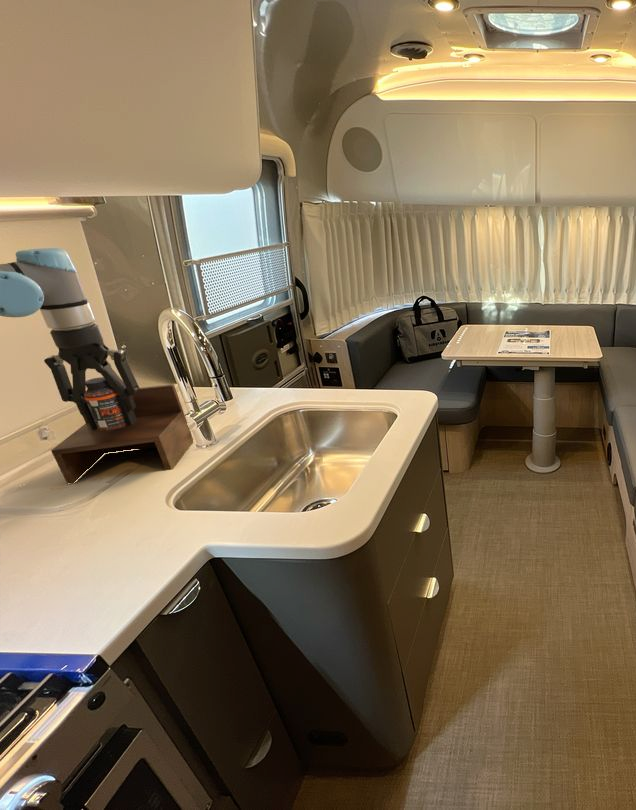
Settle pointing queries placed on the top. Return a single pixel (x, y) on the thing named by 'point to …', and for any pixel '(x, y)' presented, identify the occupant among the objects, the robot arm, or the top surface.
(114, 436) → the shelf
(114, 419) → the supplement bottle
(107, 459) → the top surface
